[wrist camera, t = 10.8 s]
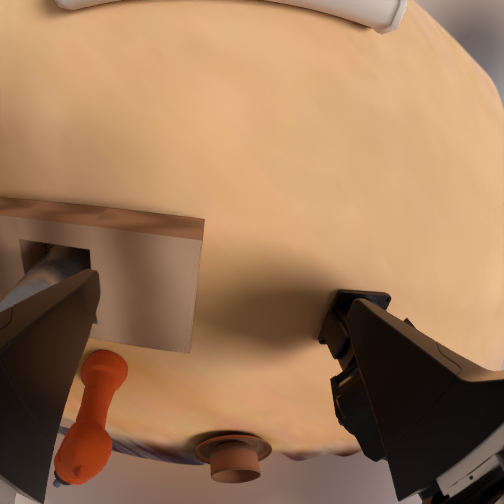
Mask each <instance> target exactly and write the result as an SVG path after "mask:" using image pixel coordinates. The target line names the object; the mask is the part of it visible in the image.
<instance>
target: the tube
mask: <svg viewBox="0 0 504 504" xmlns="http://www.w3.org/2000/svg"><path fill="white" fill-rule="evenodd" d="M114 1H120V0H55V2H56V3H57V5H58V6H59V7H60V8H65V9H70V10H75V9H79V8H84V7H88V6H93V5H97V4H102V3H108V2H114ZM266 1H273V2H279V3H284V4H290V5H295V6H299V7H304V8H308V9H313V10H317V11H320V12H324V13H328V14H331V15H335V16H338V17H342V18H345V19H348V20H351V21H354V22H357V23H360V24H363V25H366V26H368V27H371V28H372V29H374V30H375V31H376V32H377V33H379V34H385V33H388V32H390V31H393V30H396V29H398V26H399V24H400V22H401V20H402V17H403V15H404V13H405V10H406V8H407V0H266Z"/></svg>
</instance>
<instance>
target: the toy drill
mask: <svg viewBox="0 0 504 504" xmlns="http://www.w3.org/2000/svg"><path fill="white" fill-rule="evenodd" d="M127 370H128V366H127V363H126V362H125V360H124V359H123V358H122V357H120V356H119V355H117V354H115V353H113V352H111V351H107V350H99V351H97V352H95V353H93V354H92V355H91V356H90V357H89V358H88V359H87V360H86V362H85V364H84V365H83V367H82V370H81V380H82V382H83V384H84V385H85V389H84V393H83V398H82V403H81V407H80V410H79V413H78V415H77V418H76V423H74V424H73V425H72V426H71V427H70V429H69V430H68V432H67V433H66V435H65V437H64V439H63V441H62V444H61V446H60V448H59V450H58V452H57V454H56V456H55V459H54V465H55V471H54V475H55V478H56V479H55V481H54V482H53V485H54V486H55V487H59V486H61V484H63V485H71V484H76V485H78V484H83V483H85V482H87V481H88V480H90V479H91V478H93V477H94V476H95V475H97V474H98V473H99V472H100V471H101V470H102V469H103V467H104V466H105V465H106V463H107V461H108V459H109V457H110V454H111V451H112V440H111V437H110V436H109V434H108V433H107V432H106V430H105V423H106V417H107V412H108V408H109V405H110V402H111V400H112V397H113V395H114V392H115V391H116V390H117V389H118V388H119V387H120V386H121V385H122V383H123V382H124V381H125V379H126V377H127Z"/></svg>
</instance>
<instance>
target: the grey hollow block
mask: <svg viewBox="0 0 504 504" xmlns="http://www.w3.org/2000/svg"><path fill="white" fill-rule="evenodd" d="M204 222H205V219H197V218H190V217H182V216H174V215H166V214H158V213H150V212H142V211H133V210H125V209H116V208H107V207H98V206H88V205H79V204H69V203H59V202H48V201H37V200H25V199H13V198H1V197H0V303H1V302H2V300H3V299H4V298H5V297H6V296H7V295H8V293H9V292H10V291H11V290H12V289H13V288H14V287H15V285H16V284H17V283H18V282H19V281H20V280H21V279H22V278H23V277H24V275H25V274H26V273H27V272H28V271H29V270H30V269H31V268H32V267H33V266H34V265H35V264H36V263H37V262H38V261H39V260H40V259H41V258H42V257H43V256H44V255H45V254H46V248H45V243H50V244H56V245H63V246H69V247H76V248H83V249H90V258H91V270H97V271H98V273H99V279H100V290H101V295H100V300H99V304H98V307H97V310H96V314H95V317H94V321H93V325H92V328H91V332H90V335H89V337H90V338H95V339H100V340H105V341H110V342H115V343H121V344H127V345H133V346H139V347H145V348H152V349H159V350H167V351H175V352H183V353H190V346H191V336H192V326H193V316H194V307H195V298H196V289H197V281H198V272H199V265H200V257H201V250H202V242H203V232H204Z"/></svg>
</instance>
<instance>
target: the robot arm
mask: <svg viewBox="0 0 504 504" xmlns="http://www.w3.org/2000/svg"><path fill="white" fill-rule="evenodd" d="M100 295H101V290H100V279H99V273H98V271H97V270H91V269H86V270H83V271H81V272H79V273H77V274H75V275H73V276H71V277H69V278H67V279H64V280H62V281H60V282H58V283H56V284H54V285H52V286H50V287H48V288H46V289H44V290H42V291H40V292H38V293H36V294H34V295H32V296H30V297H28V298H26V299H24V300H22V301H20V302H18V303H16V304H15V305H13V307H12V306H11V307H9V308H7V309H5V310H3V311H1V312H0V504H14V502H15V497H16V492H17V493H19V494H21V495H23V496H25V497H27V498H29V499H31V500H33V501H36V502H38V503H40V504H44V500H45V493H46V486H47V481H48V475H49V469H50V464H51V460H52V455H53V451H54V445H55V441H56V437H57V433H58V429H59V426H60V422H61V418H62V415H63V411H64V408H65V404H66V401H67V398H68V395H69V391H70V388H71V385H72V382H73V379H74V376H75V373H76V370H77V368H78V365H79V362H80V359H81V357H82V354H83V351H84V349H85V346H86V343H87V341H88V338H89V335H90V332H91V328H92V325H93V321H94V317H95V314H96V310H97V307H98V304H99V300H100ZM341 295H343V296H342V297H340V296H341ZM386 298H387V299H386ZM390 301H391V296H390V295H389V294H386V293H372V292H359V291H347V290H340V291H339V292H337V294H336V296H335V299H334V302H333V304H332V306H331V309H330V311H329V312H328V314H327V317H326V319H325V321H324V324H323V326H322V329H321V333H320V335H319V337H318V341H319V343H320V344H327V345H328V348H329V350H330V352H331V354H332V356H333V358H334V359H338V362H339V364H340V366H341V368H342V370H343V371H342V372H341V373H340V374H338V375H337V376H334V377H332V378H331V379H330V381H331V388H332V395H333V401H334V407H335V414H336V417H337V418H338V422H339V424H340V425H342V426H344V427H345V429H346V430H347V431H348V432H349V433H351V434H352V435H354V436H355V437H356V439H357V441H358V443H359V445H360V447H361V449H362V451H363V453H364V455H365V456H367V457H368V458H370V459H371V460H373V461H375V462H377V461H379V460H381V459H384V460H386V461H388V464H389V468H390V472H391V476H392V479H393V483H394V488H395V491H396V496H397V499H398V501H402V500H404V499H406V498H408V497H411V496H413V495H415V494H417V493H418V494H419V496H420V498H421V499H422V501H423V502H422V504H504V371H490V370H487V369H485V368H483V367H481V366H479V365H477V364H475V363H473V362H472V361H470V360H468V359H466V358H464V357H462V356H460V355H459V354H457V353H455V352H453V351H452V350H450V349H448V348H447V347H445V346H443V345H441V344H440V343H438V342H435V340H433V339H432V338H430V337H428V336H427V335H425V334H423V333H422V332H420V331H418V330H417V329H416V328H415V327H414V326H413V324H412V323H411V322H410V321H409V320H408V318H406V319H405V320H404V321H402V320H400V319H398V318H397V317H395V316H393V315H392V314H390V313H388V312H387V311H386V309H387V307H388V305H389V303H390Z"/></svg>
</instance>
